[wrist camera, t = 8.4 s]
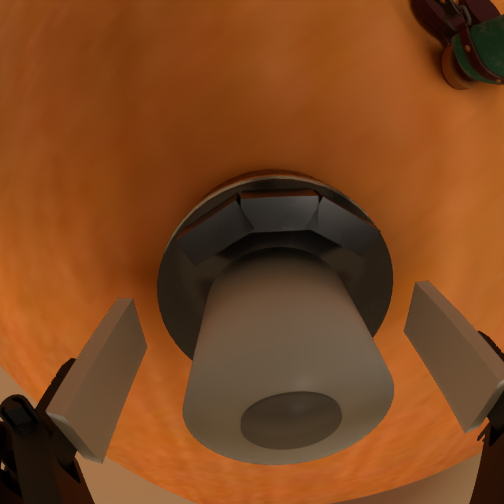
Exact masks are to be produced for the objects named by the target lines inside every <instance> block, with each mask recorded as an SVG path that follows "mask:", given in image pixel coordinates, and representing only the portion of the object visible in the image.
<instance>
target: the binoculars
mask: <svg viewBox="0 0 504 504" xmlns="http://www.w3.org/2000/svg"><path fill="white" fill-rule="evenodd" d="M413 3H414V5H415V7H416V9H417V11H418V12H419V13H420V15H421V16H422V17H423V18H424V19H425V21H426V22H427V23H428V24H429V25H430V26H432V27H433V28H434V29H435V30H436V31H438V32H439V33H440V34H442V35H443V36H444V38H445V40H446V41H447V43H449V44H451V45H448V46H447V47H446V48H445V50H444V52H443V55H442V70H443V74H444V76H445V78H446V79H447V81H448V82H449V83H450V85H451V86H453V87H454V88H456V89H459V90H463V89H468V88H473V87H475V86H476V85H477V84H478V82H479V81H481V82H485V83H492V84H499V85H504V14H503V15H500V13H499V11H498V10H497V8H496V7H495V6H494V5H493V3H492V2H491V1H490V0H460V2H459V6H458V5H457V4H456V3H455V2H454V1H453V0H413ZM462 14H463V15H464V17H465V18H466V20H467V22H466V21H464V18H463V16H462ZM453 36H454V37H453ZM452 37H453V38H452Z"/></svg>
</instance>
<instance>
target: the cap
mask: <svg viewBox="0 0 504 504" xmlns="http://www.w3.org/2000/svg"><path fill="white" fill-rule="evenodd" d="M393 396H394V383H393V379H392V376H391V374H390V372H389V370H388V368H387V366H386V364H385V362H384V360H383V358H382V356H381V354H380V352H379V350H378V348H377V346H376V344H375V342H374V340H373V338H372V336H371V334H370V332H369V331H368V329H367V327H366V325H365V323H364V321H363V319H362V317H361V315H360V314H359V312H358V310H357V308H356V306H355V304H354V303H353V301H352V299H351V297H350V295H349V294H348V292H347V290H346V288H345V286H344V285H343V283H342V281H341V279H340V278H339V276H338V275H337V273H336V272H335V270H334V269H333V268H332V267H331V266H330V265H329V264H328V263H327V262H325V261H324V260H323V259H321V258H320V257H318V256H316V255H315V254H312V253H310V252H308V251H305V250H301V249H297V248H291V247H269V248H263V249H259V250H255V251H252V252H250V253H247V254H245V255H243V256H241V257H239V258H237V259H236V260H234V261H233V262H232V263H230V264H229V265H228V266H227V267H226V268H224V269H223V270H222V271H221V273H220V274H219V275H218V276H217V278H216V279H215V281H214V283H213V284H212V286H211V289H210V291H209V294H208V298H207V302H206V306H205V311H204V315H203V319H202V323H201V327H200V332H199V336H198V340H197V345H196V349H195V353H194V358H193V362H192V367H191V371H190V376H189V380H188V385H187V389H186V394H185V399H184V404H183V418H184V421H185V424H186V426H187V428H188V430H189V431H190V433H191V434H192V435H193V436H194V437H195V438H196V439H197V440H198V441H199V442H200V443H201V444H203V445H204V446H206V447H207V448H209V449H210V450H212V451H214V452H216V453H218V454H220V455H223V456H225V457H228V458H231V459H234V460H238V461H242V462H247V463H253V464H263V465H285V464H295V463H302V462H307V461H312V460H316V459H320V458H323V457H326V456H329V455H332V454H334V453H337V452H339V451H341V450H343V449H345V448H347V447H349V446H351V445H353V444H354V443H356V442H358V441H359V440H361V439H362V438H363V437H365V436H366V435H367V434H369V433H370V432H371V431H372V430H373V429H374V428H375V427H376V426H377V425H378V424H379V423H380V422H381V421H382V419H383V418H384V417H385V415H386V414H387V412H388V410H389V408H390V406H391V403H392V400H393Z"/></svg>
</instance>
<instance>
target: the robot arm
mask: <svg viewBox="0 0 504 504" xmlns="http://www.w3.org/2000/svg"><path fill="white" fill-rule="evenodd" d="M404 332H405V334H406V335H407V337H408V338H409V340H410V342H411V343H412V345H413V346H414V348H415V349H416V351H417V352H418V354H419V355H420V357H421V359H422V360H423V362H424V363H425V365H426V367H427V368H428V370H429V371H430V373H431V375H432V376H433V378H434V380H435V381H436V383H437V385H438V386H439V388H440V390H441V391H442V393H443V395H444V397H445V398H446V400H447V402H448V403H449V405H450V407H451V409H452V411H453V412H454V414H455V416H456V418H457V420H458V421H459V423H460V425H461V427H462V429H463V431H464V433H467V432H469V431H471V430H473V429H476V428H478V427H479V426H480V425H481V424H482V422H483V421H484V420H485V418H486V417H487V418H488V419H489V421H490V422H489V423H488V425H487V426H486V427H485V428H484V430H483V431H482V432H481V433H480V435H479V436H478V438H477V441H479V440H480V439H481V438H482V437H483V435H484V434H485V438H484V439H483V440H482V441H483V442H484V445H483V450H482V456H481V461H480V466H479V470H478V474H477V478H476V482H475V486H474V490H473V494H472V497H471V500H470V503H469V504H504V353H503V352H502V353H501V350H500V349H499V348H498V346H496V344H495V343H494V342H493V341H492V340H491V339H490V337H488V336H487V335H485V334H484V333H482V332H481V331H476V329H475V328H474V327H473V326H472V325H471V324H470V323H469V322H468V321H467V320H466V319H465V317H464V316H463V315H462V314H461V313H460V312H459V311H458V310H457V309H456V308H455V307H454V306H453V305H452V304H451V303H450V302H449V301H448V300H447V299H446V298H445V297H444V296H443V295H442V294H441V293H440V292H439V291H438V290H437V289H436V288H435V287H434V286H433V285H432V284H431V283H430V282H429V281H422V282H415V286H414V291H413V296H412V300H411V304H410V309H409V313H408V317H407V321H406V325H405V328H404ZM146 349H147V344H146V341H145V338H144V335H143V332H142V329H141V325H140V322H139V318H138V315H137V312H136V308H135V304H134V301H133V298H118V299H117V300H116V301H115V303H114V304H113V306H112V307H111V308H110V310H109V311H108V313H107V314H106V316H105V317H104V318H103V320H102V321H101V323H100V324H99V326H98V327H97V329H96V330H95V332H94V333H93V335H92V336H91V338H90V339H89V341H88V342H87V344H86V345H85V347H84V348H83V350H82V351H81V353H80V354H79V356H78V358H77V359H74V358H71V359H70V360H68V361H67V362H66V363H65V364H63V365H62V366H61V368H60V369H59V371H58V373H57V374H56V377H54V379H53V380H52V382H51V385H49V387H48V388H47V390H46V392H45V393H44V395H43V397H42V398H41V400H40V402H39V403H38V405H37V407H36V408H35V409H34V408H33V406H32V405H31V404H30V402H29V401H28V399H27V398H25V397H24V396H23V395H19V394H17V395H11V396H9V397H8V398H6V399H5V400H4V401H3V402H2V403H1V405H0V417H1V418H2V419H3V421H0V504H95V503H94V501H93V499H92V497H91V494H90V492H89V490H88V487H87V485H86V482H85V479H84V477H83V474H82V472H81V469H80V466H79V464H78V461H77V460H76V458H75V454H76V452H77V451H78V452H79V453H80V454H81V455H82V456H83V457H84V458H85V459H88V460H91V461H95V462H98V463H103V461H104V458H105V455H106V452H107V449H108V447H109V444H110V441H111V438H112V435H113V433H114V430H115V427H116V424H117V422H118V419H119V416H120V414H121V411H122V409H123V406H124V403H125V401H126V398H127V396H128V393H129V391H130V388H131V385H132V383H133V381H134V378H135V376H136V373H137V371H138V368H139V366H140V363H141V361H142V359H143V356H144V354H145V351H146ZM1 462H2V463H3V464H4V465H5V468H4V470H2V469H1Z"/></svg>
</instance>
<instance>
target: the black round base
mask: <svg viewBox="0 0 504 504" xmlns="http://www.w3.org/2000/svg"><path fill="white" fill-rule="evenodd" d="M269 247H291V248H297V249H301V250H305V251H308V252H310V253H312V254H315V255H316V256H318V257H320V258H321V259H323V260H324V261H325V262H327V263H328V264H329V265H330V266H331V267H332V268H333V269H334V270H335V272H336V273H337V275H338V276H339V278H340V279H341V281H342V283H343V285H344V286H345V288H346V290H347V292H348V294H349V295H350V297H351V299H352V301H353V303H354V304H355V306H356V308H357V310H358V312H359V314H360V315H361V317H362V319H363V321H364V323H365V325H366V327H367V329H368V331H369V332H370V334H371V336H372V338H373V337H374V335H375V334H376V332H377V331H378V329H379V327H380V326H381V324H382V322H383V320H384V318H385V315H386V313H387V310H388V307H389V304H390V300H391V295H392V287H393V270H392V264H391V258H390V255H389V252H388V249H387V246H386V243H385V241H384V239H383V237H382V235H381V234H380V230H378V229H377V227H376V226H375V224H374V223H373V221H372V220H371V219H370V218H369V216H368V215H367V214H366V212H365V211H364V210H363V209H362V208H360V207H359V206H358V205H357V204H356V203H355V202H354V201H353V200H351V199H350V198H348V197H347V196H346V195H344V194H343V193H341V192H340V191H338V190H337V189H335V188H333V187H331V186H329V185H327V184H325V183H323V182H321V181H319V180H317V179H315V178H313V177H311V176H308V175H305V174H301V173H298V172H293V171H287V170H260V171H254V172H250V173H246V174H242V175H239V176H237V177H234V178H232V179H229V180H227V181H226V182H224V183H222V184H220V185H219V186H217V187H216V188H214V189H213V190H212V191H210V192H209V193H208V194H207V195H206V196H205V197H204V198H203V199H202V200H201V201H200V202H199V203H198V204H197V205H196V206H195V207H194V208H193V209H192V210H191V211H190V212H189V213H188V214H187V215H186V216H185V217H184V219H183V220H182V221H181V223H180V224H179V225H178V227H177V228H176V230H175V231H174V233H173V234H172V236H171V238H170V240H169V242H168V244H167V246H166V249H165V252H164V255H163V258H162V262H161V265H160V268H159V275H158V282H157V297H158V303H159V309H160V312H161V315H162V319H163V322H164V324H165V326H166V328H167V330H168V332H169V334H170V335H171V337H172V338H173V340H174V341H175V343H176V344H177V345H178V347H179V348H180V349H181V350H182V351H183V352H184V353H185V354H186V355H187V356H188V357H189V358H190V359H191V360H192V361H193V358H194V353H195V349H196V345H197V340H198V336H199V332H200V327H201V323H202V319H203V315H204V311H205V306H206V302H207V298H208V294H209V291H210V289H211V286H212V284H213V283H214V281H215V279H216V278H217V276H218V275H219V274H220V273H221V271H222V270H223V269H224V268H226V267H227V266H228V265H229V264H230V263H232V262H233V261H234V260H236V259H237V258H239V257H241V256H243V255H245V254H247V253H250V252H252V251H255V250H259V249H263V248H269Z"/></svg>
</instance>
